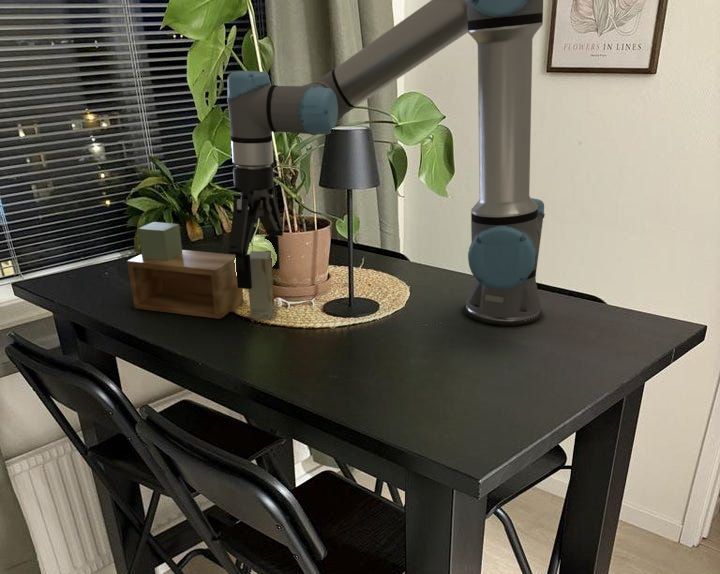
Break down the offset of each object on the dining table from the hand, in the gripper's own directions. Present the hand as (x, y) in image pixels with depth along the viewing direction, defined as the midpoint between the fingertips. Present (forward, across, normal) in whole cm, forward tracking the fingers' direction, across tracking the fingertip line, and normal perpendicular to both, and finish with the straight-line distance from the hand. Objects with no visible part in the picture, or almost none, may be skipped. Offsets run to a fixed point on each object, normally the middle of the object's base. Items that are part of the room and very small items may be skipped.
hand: (259, 277), depth 152 cm
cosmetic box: (+8, 0, 0) cm, 8 cm away
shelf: (+8, 0, -17) cm, 18 cm away
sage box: (-2, 0, -22) cm, 22 cm away
